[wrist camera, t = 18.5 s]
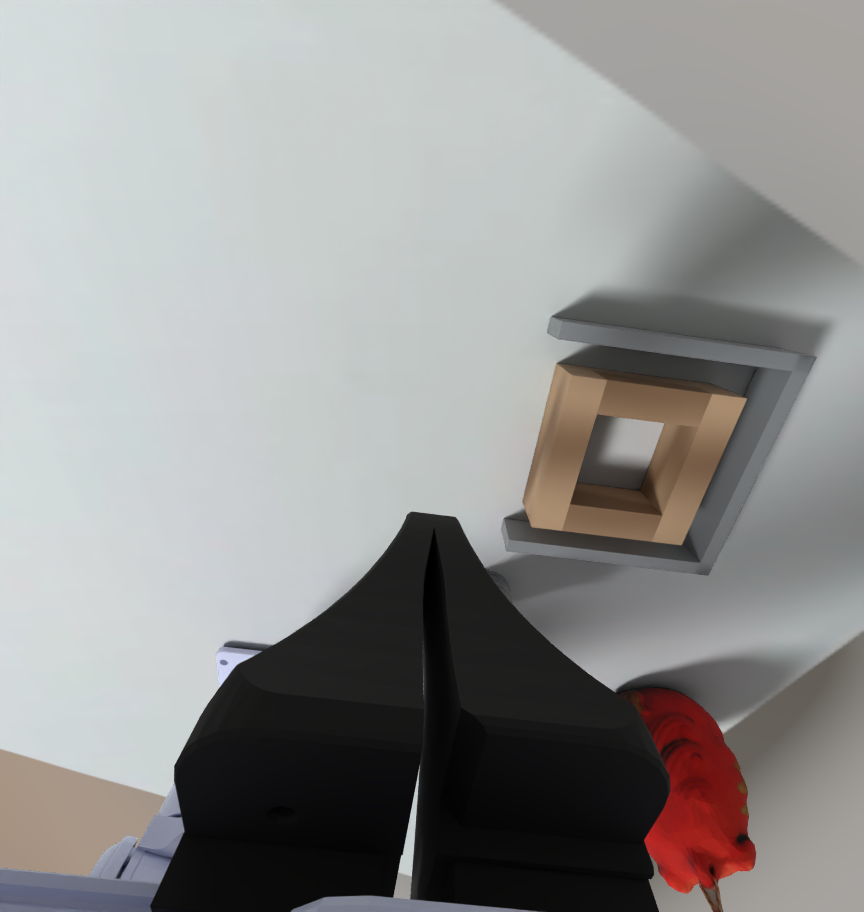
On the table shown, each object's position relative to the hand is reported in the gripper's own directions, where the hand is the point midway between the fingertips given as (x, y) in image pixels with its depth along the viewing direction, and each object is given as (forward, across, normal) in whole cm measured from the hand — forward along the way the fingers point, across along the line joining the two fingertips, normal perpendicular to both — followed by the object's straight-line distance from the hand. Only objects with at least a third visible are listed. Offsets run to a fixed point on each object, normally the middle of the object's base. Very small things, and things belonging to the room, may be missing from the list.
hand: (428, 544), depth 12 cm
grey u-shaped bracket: (+10, -10, 0) cm, 14 cm away
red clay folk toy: (+10, -17, +19) cm, 28 cm away
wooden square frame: (+10, -9, 0) cm, 14 cm away
